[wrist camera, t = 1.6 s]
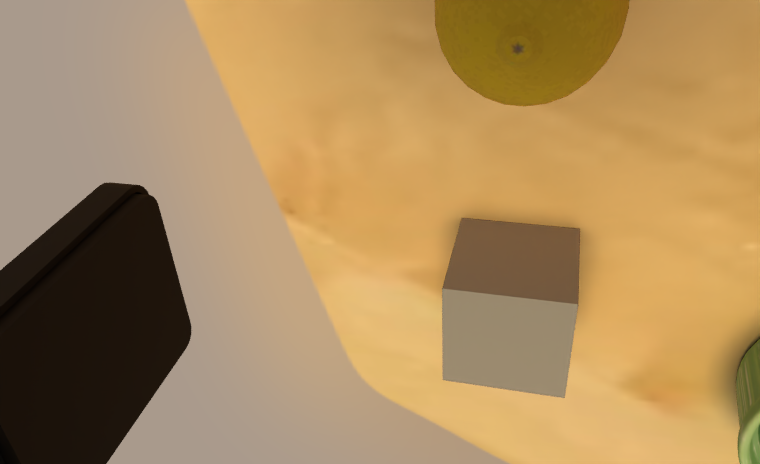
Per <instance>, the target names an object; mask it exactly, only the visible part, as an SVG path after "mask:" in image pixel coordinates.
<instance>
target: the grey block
mask: <svg viewBox="0 0 760 464" xmlns="http://www.w3.org/2000/svg"><path fill="white" fill-rule="evenodd" d="M579 250H580V229H577V228H566V227H555V226H544V225H533V224H522V223H512V222H501V221H490V220H479V219H468V218H462V219H461V223H460V226H459V230H458V234H457V237H456V241H455V244H454V248H453V252H452V255H451V259H450V263H449V266H448V270H447V273H446V277H445V281H444V284H443V288H442V330H443V380H446V381H453V382H460V383H466V384H473V385H480V386H487V387H493V388H500V389H507V390H513V391H520V392H527V393H534V394H540V395H547V396H554V397H561V398H565V392H566V385H567V378H568V371H569V365H570V358H571V351H572V344H573V337H574V330H575V323H576V316H577V309H578V293H579Z"/></svg>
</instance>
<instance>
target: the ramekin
mask: <svg viewBox="0 0 760 464" xmlns="http://www.w3.org/2000/svg"><path fill="white" fill-rule="evenodd" d="M736 392H737V405H738V414H739V424H740V430H739V436H738V457H739V462H740V464H760V339H759V340H758V341H757V342H756V343H755V344H754V345H753V346H752V347H751V348H750V349H749V350H748V352H747V353H746V354H745V356H744V358H743V359H742V361H741V364H740V366H739V369H738V372H737V378H736Z"/></svg>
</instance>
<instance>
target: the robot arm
mask: <svg viewBox="0 0 760 464" xmlns="http://www.w3.org/2000/svg"><path fill="white" fill-rule="evenodd" d="M190 337H191V323H190V319H189V316H188V312H187V308H186V305H185V301H184V297H183V294H182V290H181V287H180V283H179V279H178V275H177V272H176V268H175V264H174V261H173V257H172V253H171V250H170V246H169V242H168V239H167V235H166V231H165V228H164V224H163V220H162V217H161V213H160V210H159V206H158V203H157V201H156V199H155V198H154V197H153V196H151V195H149V194H148V192H147V190H146V189H145V188H144V187H142V186H140V185H131V184H119V183H104V184H102V185H100V186H99V187H98V188H96V189H95V190H94V191H93V192H92V193H91V194H89V195H88V196H87V197H86V198H85V199H84V200H82V201H81V202H80V203H79V204H78V205H77V206H75V207H74V208H73V209H72V210H71V211H69V212H68V213H67V214H66V215H65V216H64V217H63V218H61V219H60V220H59V221H58V222H57V223H55V224H54V225H53V226H52V227H51V228H50V229H48V230H47V231H46V232H45V233H44V234H42V235H41V236H40V237H39V238H38V239H37V240H35V241H34V242H33V243H32V244H31V245H30V246H29V247H27V248H26V249H25V250H24V251H23V252H21V253H20V254H19V255H18V256H17V257H16V258H15V259H13V260H12V261H11V262H10V263H9V264H7V265H6V266H5V267H4V268H3V269H2V270H0V464H106V463H107V462H108V460H109V459H110V457H111V456H112V455H113V453H114V452H115V450H116V449H117V447H118V446H119V445H120V443H121V442H122V440H123V439H124V437H125V436H126V434H127V433H128V432H129V430H130V429H131V427H132V426H133V424H134V423H135V421H136V420H137V419H138V417H139V416H140V414H141V413H142V411H143V410H144V408H145V407H146V405H147V404H148V403H149V401H150V400H151V398H152V397H153V395H154V394H155V392H156V391H157V389H158V388H159V386H160V385H161V384H162V382H163V381H164V379H165V378H166V377H167V375H168V374H169V372H170V371H171V369H172V368H173V366H174V365H175V364H176V362H177V361H178V359H179V358H180V356H181V355H182V353H183V352H184V351H185V349H186V347H187V346H188V344H189V341H190Z"/></svg>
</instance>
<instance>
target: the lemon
mask: <svg viewBox="0 0 760 464" xmlns="http://www.w3.org/2000/svg"><path fill="white" fill-rule="evenodd" d="M628 9H629V0H435V26H436V30H437V34H438V38H439V42H440V45H441V49H442V52H443V54H444V56H445V57H446V59H447V61H448V63H449V64H450V66H451V68H452V70H453V71H454V72H455V73H456V74H457V75H458V77H459V78H460V79H461V80H462V81H463V82H464V83H465V84H466V85H467V86H468V87H470V88H471V89H473V90H474V91H476V92H477V93H479V94H480V95H482V96H483V97H485V98H488V99H490V100H493V101H496V102H499V103H502V104H506V105H516V106H531V105H539V104H546V103H549V102H552V101H554V100H557V99H560V98H563V97H565V96H568V95H569V94H571V93H572V92H574V91H575V90H577V89H578V88H580V87H581V86H583V85H584V84H586V83H587V82H588V81H589V80H590V79H591V78H592V77H593V76H594V75H595V74H596V73H597V72H598V71H599V70H600V69H601V68H602V66H603V65H604V64H605V63H606V62H607V60H608V59H609V57H610V55H611V53H612V52H613V50H614V48H615V46H616V44H617V43H618V41H619V39H620V37H621V35H622V31H623V27H624V24H625V20H626V16H627V13H628Z"/></svg>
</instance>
